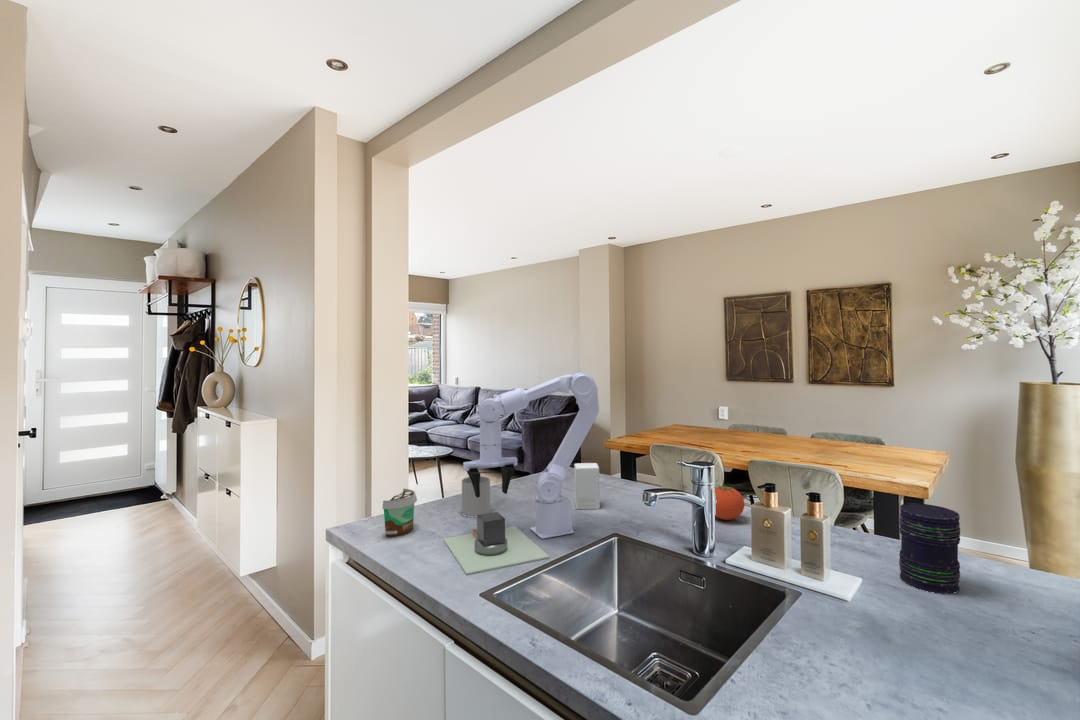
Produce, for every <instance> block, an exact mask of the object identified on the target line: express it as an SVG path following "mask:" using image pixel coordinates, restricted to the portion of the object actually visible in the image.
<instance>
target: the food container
mask: <svg viewBox="0 0 1080 720" xmlns="http://www.w3.org/2000/svg"><path fill="white" fill-rule="evenodd" d="M417 501H418V498H417V494H416V492H415V490H413V489H408V488H402V492H401V493H399V494H397V495H396V494H395V495H394V496H392V498H391V499H390V500H382V506H381V508H382V510H383V516H384V517H383V518H384V519H383V520H384V528H385V538H395V537H402V536H405V534H406V535H409V534H410V533H411V531H412V532H413V530H414V518H415V516H414V514H415V504H416V502H417Z"/></svg>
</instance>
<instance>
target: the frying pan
mask: <svg viewBox="0 0 1080 720" xmlns="http://www.w3.org/2000/svg"><path fill="white" fill-rule="evenodd" d="M471 534H472V535H473V536H474V537H475V538H476V540H475V542H474V543H475V552H476V553H477V554H479V555H482V556H496V555H500V554H503V553H505V552H506V551H507V549H508V545H507V539H506V538H505V543H504V544H499V545H494V546H488V547H483V546H482V544H481V543H480V542H479V541H478V540H477V528H476V529H472V530H471Z"/></svg>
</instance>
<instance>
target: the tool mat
mask: <svg viewBox="0 0 1080 720" xmlns="http://www.w3.org/2000/svg"><path fill="white" fill-rule="evenodd" d="M505 538H506V539H507V545H508V549H507V551H506V552H505V553H503V554H500V555H496V556H482V555H479V554H477V553H476V552H475V543H474V542H475V540H476V538H475V537H474V536H473V535H472V533H468V534H463V535H457V536H452V537H450V536H449V537H444V538H443V539H442V540H443V542H444V543H445V545H446V547H447V548H448V550H449V551H450V552H451V554H452V555H453V557H454V558H455V560H456V562H457V563H458V564H459V566H460V568H461V569H462V571H463V572H464V573H465V575H466V576H467V575H473V574H479V573H483V572H488V571H489V572H490V571H494V570H497V569H503V568H507V567H513V566H517V565H523V564H528V563H532V562H537V561H541V560H546V559H550V555H548V554H547V553H546V552H545V551H544V550H543V549H542V548H541V547H539V546H538V545H537V544H536V543H535V542H534V541H533V540H531V538H529V537H528V536H527V535H526V534H525V533H524V532H523V531H521V530H520V529H519V528H518V527H517V526H516V525H514V526H509V527H505Z"/></svg>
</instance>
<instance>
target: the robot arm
mask: <svg viewBox="0 0 1080 720" xmlns="http://www.w3.org/2000/svg"><path fill="white" fill-rule="evenodd" d="M570 391H571V393H572V394H573V395H574V397H575V398H576V399H575V400H576V403H577V406H578V409H579V410H578V412H577V414H576V416H575V418H574V419H573V421H572V423H571V425H570V426H569V428H568V430H567V432H566V434H565V436H564V437H563V439H562V442H560V443H561V444H560V445H559V447H558V448H557V451H556V452H555V454H554V456H553V458H552V460H551V461H550V462H549V463H548V464H547V466H546V468H545V469H544V470H542V471H541V472H540V473H539V474H538V476H537V478H536V485H537V486H536V493H537V495H535V499H534V500H535V501H534V502H535V526H531V527H529V530H530V531H531V532H533V534H535V535H536V536H538V537H539V538H540V539H542V540H544V539H549V538H554V537H558V536H564V535H570V534H573V533H575V531H574V530H573V505H572V502H571V500H570V498H569V497H568V496H563V495H562V486H563V483H564V481H565V480H566V479H565V478H566V476H567V472H568V469H569V468H570V466H571V464H572V462H573V460H575V459H574V458H576V455H577V453H578V451H579V449H580V448H581V446H582V444H583V442H584V440H585V438H586V436H588V433H589V432H590V430H591V428H592V426H593V424H594V422H595V420H596V418H597V417H598V415H599V411H600V409H599V395H598V394H599V393H598V392H599V388H598V386H597V383H596V382H595V379H594V378H593V377H592V376H591V375H589V374H588V373H586V372H584V371H576V372H574V373H572V374H571V373H568V374H564V375H561V376H557V377H555V378H552V379H549V380H547V381H545V382H542V383H540V384H538V385H534V386H533V387H530V388H528V389H524V388H521V387H517V388H516V387H515V386H513V387H510V388H509V391H506V392H503V393H501V394H497V393H495V394H494V395H492V396H493V398H492V397H491V398H486V399H485V400H483V401H482V402H481V403H480V405H479V407H478V416H479V417H480V419H479V425H480V426H479V459H476V460H475V459H474V460H470V461H464V462H463V468H462V469H463V471H464V472H466V473H467V475H468V477H470V479H471V482H472V485H473V488H474V492H475V496H476V497H477V498H478V497H480V476H481V473H480V471H479V470H482V469H489V468H492V469H493V468H498V467H499V468H500V472H501V491H502V493H503V494H504V495H507V494H508V492H509V491H508V490H509V486H510V483H511V479H512V477H513V475H514V473H515V471H516V466H518V458H517V457H515V456H511V457H508V456H506V457H502V426H501V416H505V417H506V416H508V415H510V414H513V413H516V412H519V411H522V410H524V409H526V408H528V405H529V403H530V402H532V401H534V400H537V399H541V398H543V397H546V396H549V395H551V394H555V393H562V394H568V395H569V394H570Z"/></svg>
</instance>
